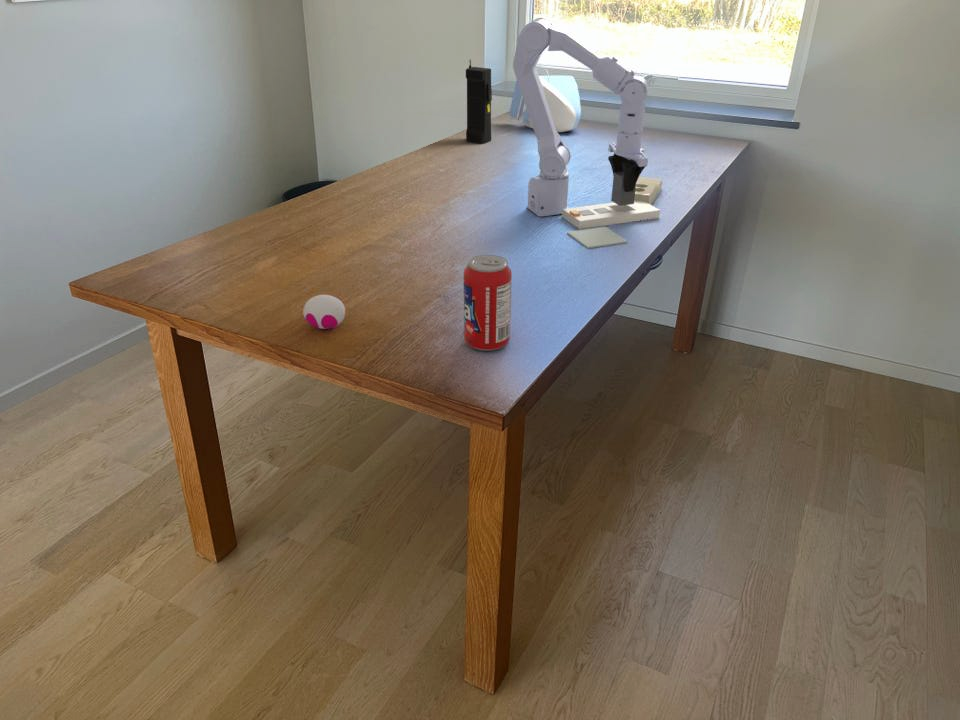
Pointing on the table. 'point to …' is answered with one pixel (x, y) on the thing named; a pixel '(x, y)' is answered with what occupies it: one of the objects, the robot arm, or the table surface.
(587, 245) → the mat
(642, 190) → the electrical outlet
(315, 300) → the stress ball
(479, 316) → the soda can
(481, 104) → the portable radio
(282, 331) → the table surface
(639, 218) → the power strip
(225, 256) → the table surface
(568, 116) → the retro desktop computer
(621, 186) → the charger
